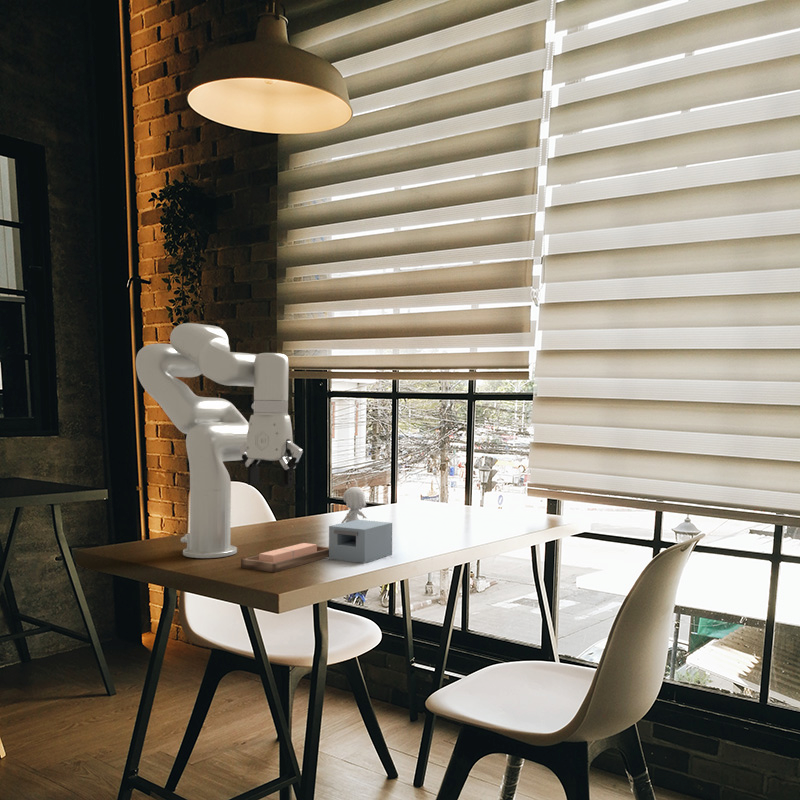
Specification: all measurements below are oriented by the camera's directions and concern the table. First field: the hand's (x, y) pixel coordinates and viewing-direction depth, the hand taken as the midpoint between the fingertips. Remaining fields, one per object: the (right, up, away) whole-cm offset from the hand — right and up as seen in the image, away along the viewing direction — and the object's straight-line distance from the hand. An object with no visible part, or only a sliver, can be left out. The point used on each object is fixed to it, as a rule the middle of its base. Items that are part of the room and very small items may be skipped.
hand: (269, 485), depth 161 cm
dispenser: (+20, -18, +11) cm, 29 cm away
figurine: (+17, -19, +26) cm, 36 cm away
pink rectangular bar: (+3, -17, +5) cm, 18 cm away
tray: (+4, -18, +5) cm, 19 cm away
